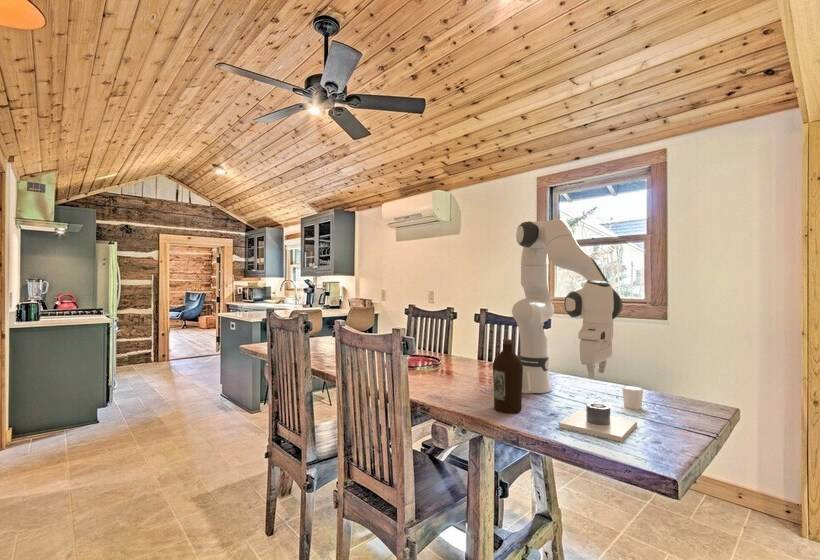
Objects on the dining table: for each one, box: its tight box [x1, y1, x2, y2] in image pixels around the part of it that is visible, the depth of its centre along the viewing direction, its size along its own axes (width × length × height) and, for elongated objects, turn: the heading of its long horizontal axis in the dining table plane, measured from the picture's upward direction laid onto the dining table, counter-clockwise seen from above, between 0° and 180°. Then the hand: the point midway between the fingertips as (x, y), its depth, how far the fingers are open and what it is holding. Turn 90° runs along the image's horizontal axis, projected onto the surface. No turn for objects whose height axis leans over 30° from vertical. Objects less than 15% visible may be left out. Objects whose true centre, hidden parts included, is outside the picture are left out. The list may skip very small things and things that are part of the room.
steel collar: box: [585, 402, 611, 425], centre depth 129 cm, size 7×7×5 cm
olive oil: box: [492, 338, 523, 414], centre depth 147 cm, size 11×11×25 cm
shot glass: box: [621, 385, 644, 410], centre depth 150 cm, size 7×7×7 cm
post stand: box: [558, 405, 638, 443], centre depth 129 cm, size 18×18×6 cm
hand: (596, 375), depth 130 cm, fingers open, 8 cm apart
